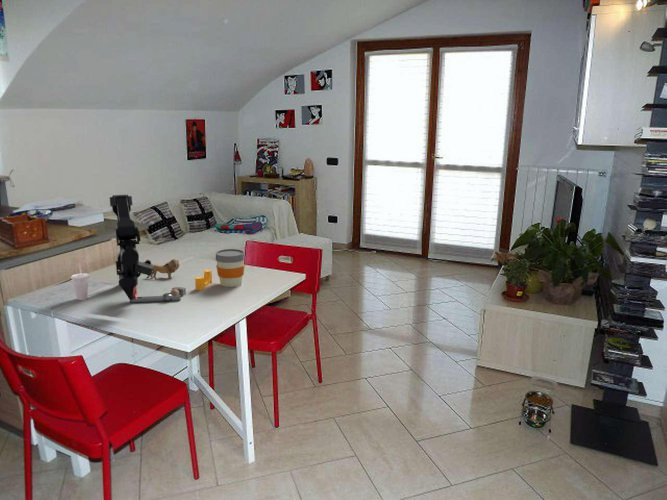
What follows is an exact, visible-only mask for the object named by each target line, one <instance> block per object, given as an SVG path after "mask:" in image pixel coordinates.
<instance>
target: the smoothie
mask: <svg viewBox="0 0 667 500" xmlns="http://www.w3.org/2000/svg"><path fill="white" fill-rule="evenodd" d="M78 266H79V267H78V268H79V273H75V274H73V275H71V278H70V279H71V280H72V285H73V287H74V292H75V295H76V298H77V300H78V301H85V300H87V299H88V297H89V278H90V275H89V273H84V272H83V273H82V265H81V264H79V265H78Z"/></svg>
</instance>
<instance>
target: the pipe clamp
mask: <svg viewBox="0 0 667 500" xmlns="http://www.w3.org/2000/svg"><path fill="white" fill-rule="evenodd" d="M212 274H213V273H212V270H211V269H205V270H204V272H203V276H202V277H201V276H196V277H195V278H194V280H195V281H194V282H195V291H203V289H206V287H208V286H209V285H210V284H213V277H212V276H213V275H212Z"/></svg>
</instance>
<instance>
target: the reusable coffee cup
mask: <svg viewBox="0 0 667 500" xmlns="http://www.w3.org/2000/svg"><path fill="white" fill-rule="evenodd" d="M245 255H246V254H245V251H244V250H242V249H240V248H239V249H238V248H237V249H236V248H225V249H220V250H217V251H216V252H215V262H216V271H217V276H218V277H219V284H220V286H222V287H226V288H230V287H231V288H234V287H239V288H240V287H242V284H243V277H244V274H245V266H246V265H245V260H246V257H245Z"/></svg>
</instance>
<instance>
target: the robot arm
mask: <svg viewBox="0 0 667 500" xmlns="http://www.w3.org/2000/svg"><path fill="white" fill-rule="evenodd" d="M132 206H133V198H132V196H131V195H129V194H113V195H112V196H110V197H109V207H111V210H112V212H113V213H114V215H115V217H117V220H116V221H117V222H116V228H114V230H115V231H114V232H115V239H116V245H117V247H118V246H119V252H118V253H117V256H116V261H115V269H116V276H118V286H119V287H120V288H121V289H122V290H123V292H124V293H125V294H126V296H127V298H128V300H129V301H130V300H133V293H134V287H135V286H136V287H137V285H138V284H139V282H138V281H139V277H140V276H141V275H145V276H147V277H148V276H149V277H151V274H152V271H153V268H154V266H153V265H154V264H152V261H151V260H150V259H146V260H145V261H140V259H139V257H140V256H139V255H140V254H139V252H138V249H137V245H140V242H141V233H140V229H139V227H138V226H136V224H135V223H136V222H135V221H134V220H133V219H132V218H131V215H130V213H131V210H132V208H131V207H132Z"/></svg>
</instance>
